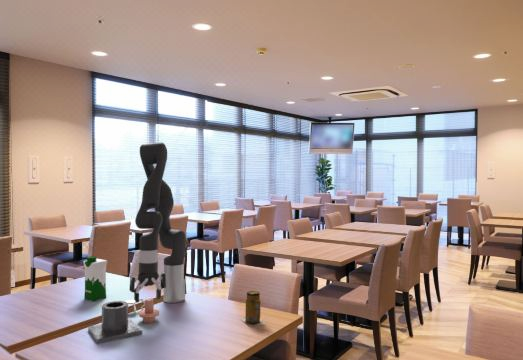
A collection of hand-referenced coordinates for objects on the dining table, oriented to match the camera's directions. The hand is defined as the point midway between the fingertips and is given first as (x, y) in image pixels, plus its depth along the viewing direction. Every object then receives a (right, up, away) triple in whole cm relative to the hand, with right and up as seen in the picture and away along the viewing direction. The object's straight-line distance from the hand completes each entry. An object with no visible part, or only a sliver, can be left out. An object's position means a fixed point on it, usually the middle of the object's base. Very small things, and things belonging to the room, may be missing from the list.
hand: (147, 300), depth 171 cm
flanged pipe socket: (-9, -9, -12) cm, 17 cm away
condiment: (+43, -9, +1) cm, 44 cm away
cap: (0, -8, 0) cm, 8 cm away
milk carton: (-32, -7, +29) cm, 44 cm away
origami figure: (-9, -8, +11) cm, 16 cm away
